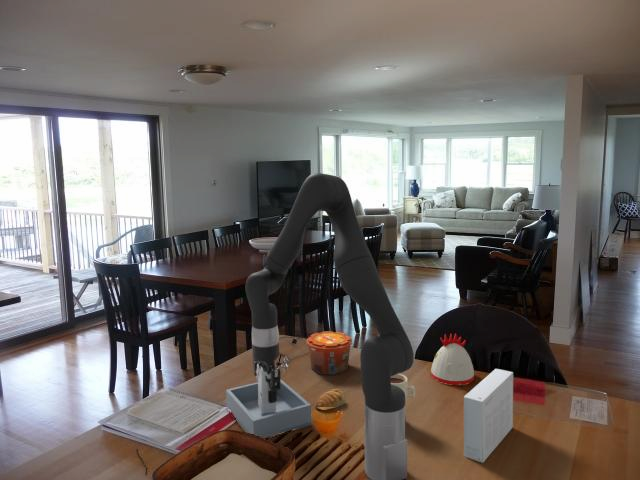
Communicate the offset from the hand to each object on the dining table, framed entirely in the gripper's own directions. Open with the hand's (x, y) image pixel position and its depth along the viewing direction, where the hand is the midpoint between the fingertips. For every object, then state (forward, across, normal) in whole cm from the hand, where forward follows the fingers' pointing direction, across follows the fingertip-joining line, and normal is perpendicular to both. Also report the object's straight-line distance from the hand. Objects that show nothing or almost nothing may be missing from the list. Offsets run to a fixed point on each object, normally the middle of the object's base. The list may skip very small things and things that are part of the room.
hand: (267, 396), depth 147 cm
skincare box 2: (+7, -41, -44) cm, 60 cm away
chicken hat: (+7, -7, -64) cm, 65 cm away
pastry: (+7, -3, -19) cm, 21 cm away
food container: (+6, +21, -33) cm, 40 cm away
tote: (+6, 0, 0) cm, 6 cm away
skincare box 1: (+4, 0, 0) cm, 4 cm away
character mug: (+6, -21, -29) cm, 36 cm away
